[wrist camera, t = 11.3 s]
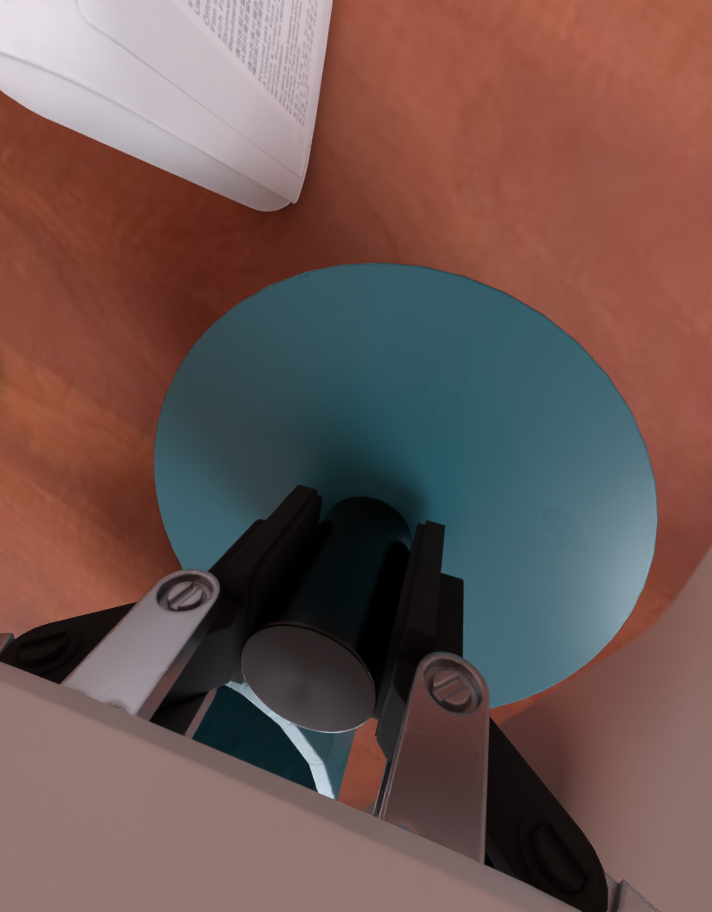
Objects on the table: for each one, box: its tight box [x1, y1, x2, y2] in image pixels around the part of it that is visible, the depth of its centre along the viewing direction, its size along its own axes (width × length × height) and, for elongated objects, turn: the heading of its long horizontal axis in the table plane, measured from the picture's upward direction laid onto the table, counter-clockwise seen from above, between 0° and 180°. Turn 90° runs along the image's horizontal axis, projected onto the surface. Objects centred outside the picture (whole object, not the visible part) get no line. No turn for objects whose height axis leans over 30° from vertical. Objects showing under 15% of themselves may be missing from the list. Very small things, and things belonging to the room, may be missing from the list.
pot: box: [179, 568, 356, 800], centre depth 23 cm, size 14×14×8 cm
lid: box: [154, 262, 658, 733], centre depth 10 cm, size 15×15×6 cm
